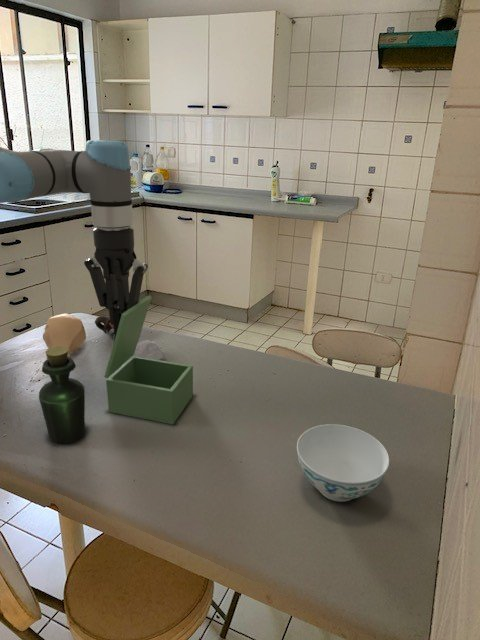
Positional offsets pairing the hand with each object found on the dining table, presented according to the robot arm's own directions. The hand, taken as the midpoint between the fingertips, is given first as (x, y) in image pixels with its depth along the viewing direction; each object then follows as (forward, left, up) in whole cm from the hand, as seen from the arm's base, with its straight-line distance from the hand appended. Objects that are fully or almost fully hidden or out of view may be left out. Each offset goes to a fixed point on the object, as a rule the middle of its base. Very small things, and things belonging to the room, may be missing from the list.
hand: (121, 338), depth 97 cm
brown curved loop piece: (-18, +30, -15) cm, 38 cm away
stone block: (-4, +16, -15) cm, 22 cm away
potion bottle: (-4, -15, -15) cm, 22 cm away
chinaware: (+48, -14, -15) cm, 52 cm away
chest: (+7, 0, -15) cm, 16 cm away
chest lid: (+2, 0, +1) cm, 2 cm away
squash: (-25, +15, -15) cm, 33 cm away
